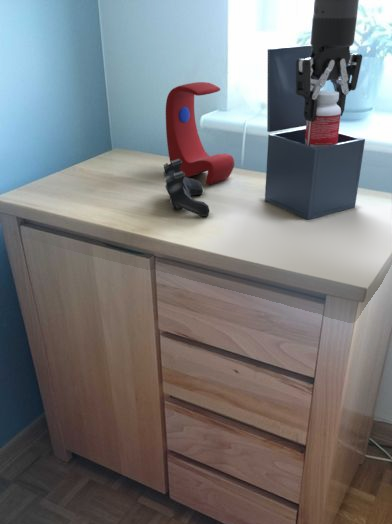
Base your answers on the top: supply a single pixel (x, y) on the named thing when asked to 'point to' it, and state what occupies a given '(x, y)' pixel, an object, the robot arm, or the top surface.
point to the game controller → (183, 189)
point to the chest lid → (285, 88)
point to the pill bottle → (324, 121)
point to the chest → (312, 173)
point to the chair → (192, 135)
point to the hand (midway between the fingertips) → (323, 117)
